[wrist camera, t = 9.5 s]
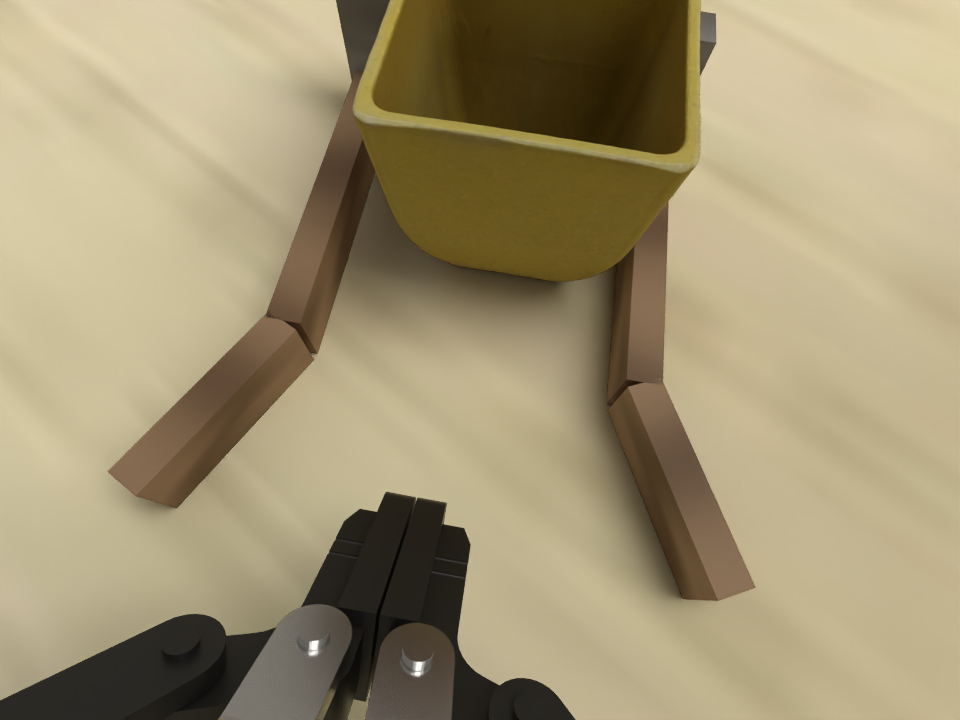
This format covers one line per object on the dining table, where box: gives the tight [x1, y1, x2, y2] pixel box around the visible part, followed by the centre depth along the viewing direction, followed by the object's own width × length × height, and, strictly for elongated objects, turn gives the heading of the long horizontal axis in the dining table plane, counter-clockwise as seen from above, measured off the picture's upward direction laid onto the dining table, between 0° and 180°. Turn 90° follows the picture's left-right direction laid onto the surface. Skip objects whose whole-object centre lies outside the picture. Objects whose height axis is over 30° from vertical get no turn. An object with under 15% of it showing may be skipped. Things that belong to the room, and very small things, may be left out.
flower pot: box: [352, 0, 701, 282], centre depth 19 cm, size 9×9×9 cm
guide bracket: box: [108, 0, 755, 601], centre depth 19 cm, size 20×19×6 cm
